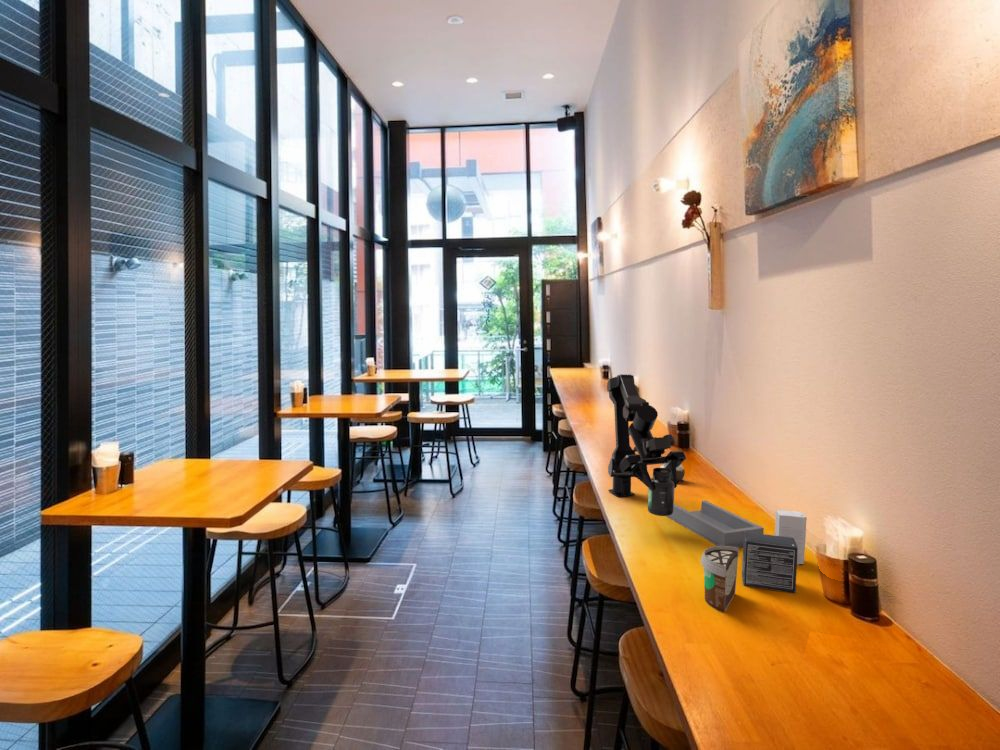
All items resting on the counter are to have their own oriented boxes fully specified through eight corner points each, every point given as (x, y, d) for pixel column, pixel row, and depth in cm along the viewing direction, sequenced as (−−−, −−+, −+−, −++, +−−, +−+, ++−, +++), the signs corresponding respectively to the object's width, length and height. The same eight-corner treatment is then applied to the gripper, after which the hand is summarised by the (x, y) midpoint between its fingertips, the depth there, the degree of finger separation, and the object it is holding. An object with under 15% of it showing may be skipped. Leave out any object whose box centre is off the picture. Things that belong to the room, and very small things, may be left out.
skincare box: (799, 558, 140) (802, 511, 139) (804, 565, 136) (807, 517, 135) (772, 555, 141) (775, 509, 140) (776, 562, 137) (779, 515, 136)
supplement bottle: (646, 514, 154) (648, 471, 153) (648, 506, 161) (650, 465, 160) (672, 518, 152) (674, 474, 151) (674, 509, 159) (675, 468, 157)
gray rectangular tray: (666, 516, 168) (666, 503, 168) (702, 511, 172) (703, 498, 172) (724, 549, 145) (725, 534, 144) (765, 543, 149) (766, 528, 148)
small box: (791, 581, 128) (794, 536, 127) (796, 594, 122) (799, 547, 121) (741, 573, 131) (743, 530, 130) (743, 586, 125) (745, 540, 124)
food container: (707, 583, 126) (709, 540, 125) (736, 591, 123) (739, 546, 122) (691, 606, 116) (693, 559, 115) (722, 615, 113) (725, 567, 112)
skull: (645, 477, 205) (655, 453, 209) (655, 491, 211) (665, 468, 215) (675, 483, 196) (685, 458, 201) (685, 498, 202) (695, 473, 207)
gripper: (626, 426, 154) (647, 477, 145) (684, 422, 160) (707, 471, 151) (610, 447, 163) (629, 497, 154) (666, 443, 169) (687, 490, 160)
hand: (664, 488), depth 154 cm, fingers closed on supplement bottle, 7 cm apart
